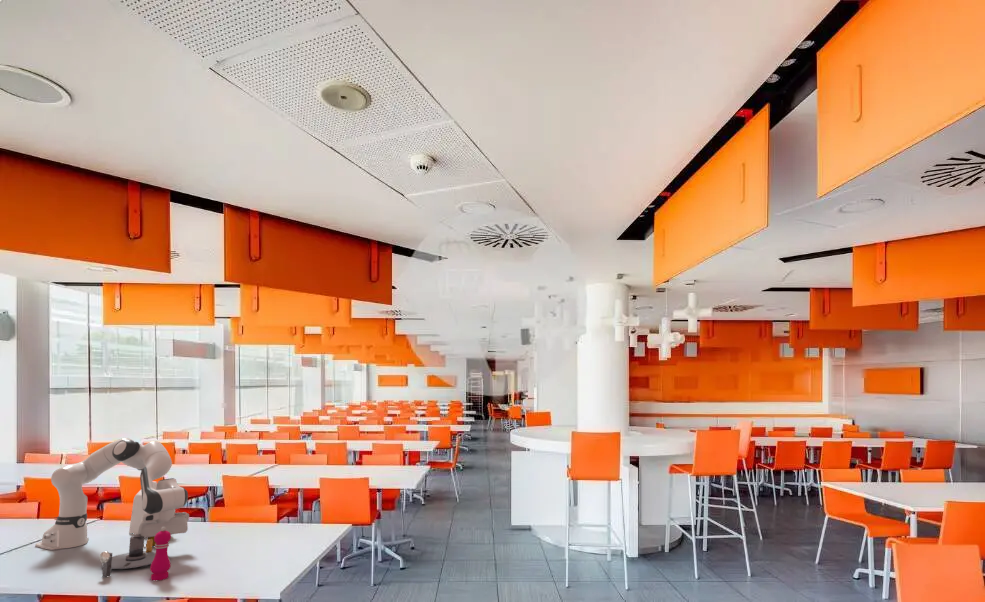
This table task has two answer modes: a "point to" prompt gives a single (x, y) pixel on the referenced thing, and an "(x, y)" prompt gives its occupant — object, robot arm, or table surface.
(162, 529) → the pepper mill
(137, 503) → the milk
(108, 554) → the grey bar with dome
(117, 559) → the turntable
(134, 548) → the urn
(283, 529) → the table surface
